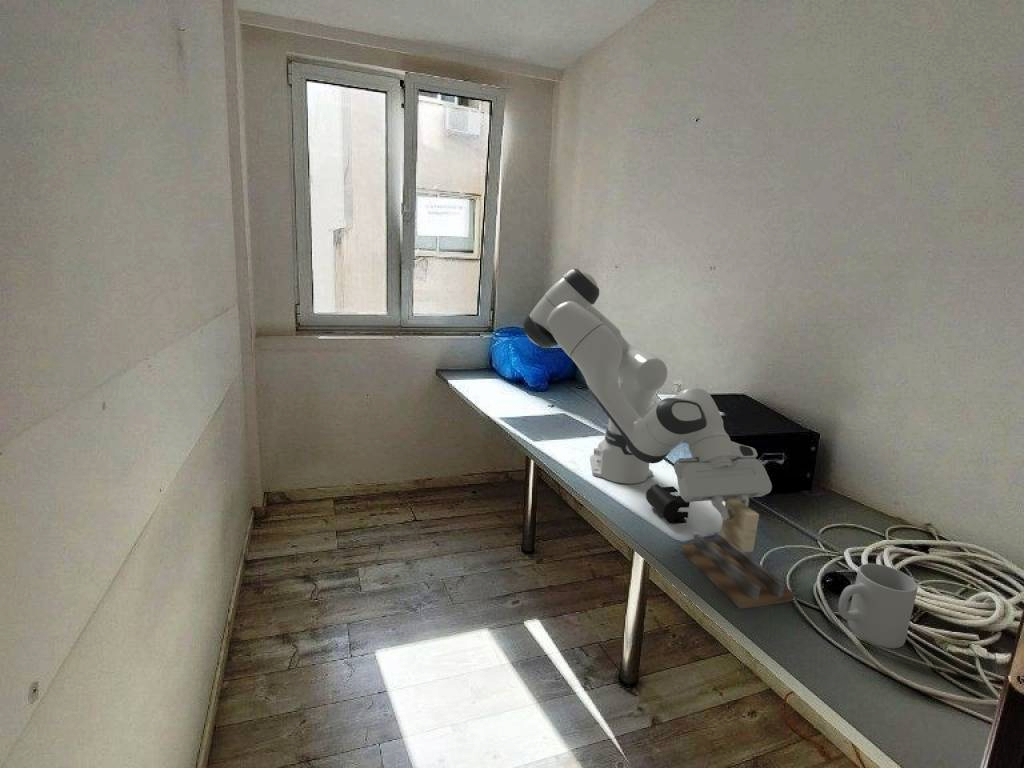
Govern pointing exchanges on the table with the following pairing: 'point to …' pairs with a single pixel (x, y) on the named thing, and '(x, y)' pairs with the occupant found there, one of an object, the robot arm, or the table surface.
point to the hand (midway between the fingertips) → (737, 518)
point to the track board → (736, 573)
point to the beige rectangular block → (740, 526)
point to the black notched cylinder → (667, 503)
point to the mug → (879, 605)
